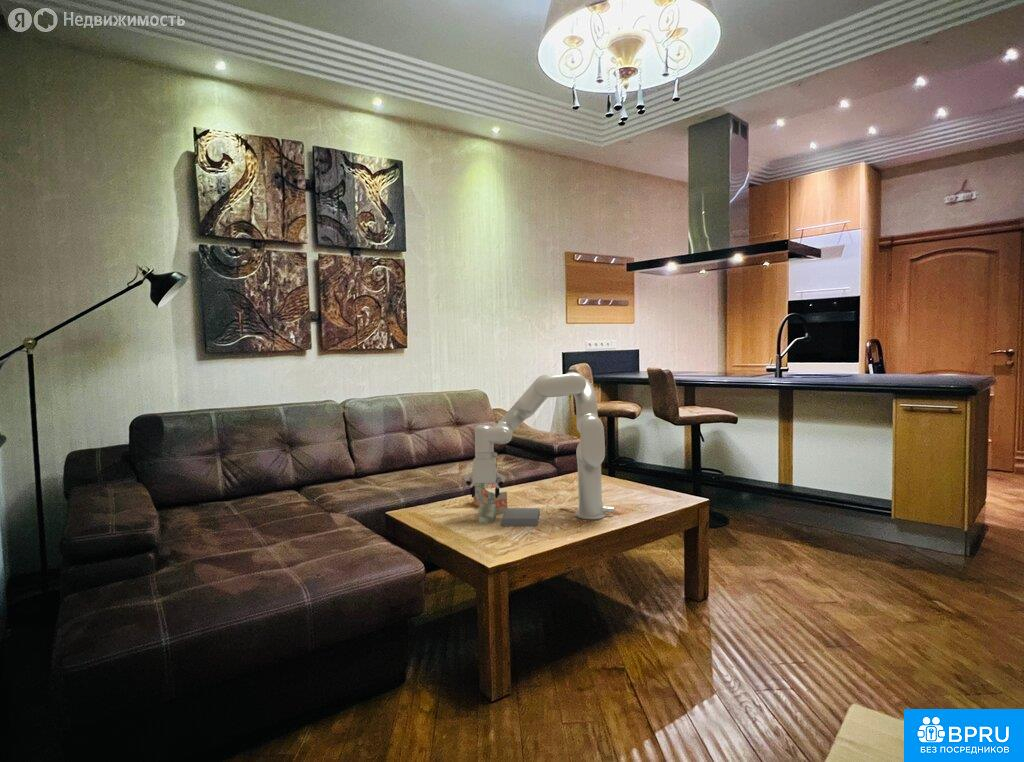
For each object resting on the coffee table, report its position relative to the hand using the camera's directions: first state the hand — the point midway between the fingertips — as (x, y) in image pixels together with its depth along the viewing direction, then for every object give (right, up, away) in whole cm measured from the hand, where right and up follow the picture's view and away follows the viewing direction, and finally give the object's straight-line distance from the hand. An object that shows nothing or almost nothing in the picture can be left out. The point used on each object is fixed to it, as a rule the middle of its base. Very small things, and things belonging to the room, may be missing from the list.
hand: (485, 496), depth 224 cm
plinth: (+15, -9, -1) cm, 18 cm away
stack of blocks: (+1, -9, +18) cm, 20 cm away
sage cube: (+1, -10, +1) cm, 10 cm away
